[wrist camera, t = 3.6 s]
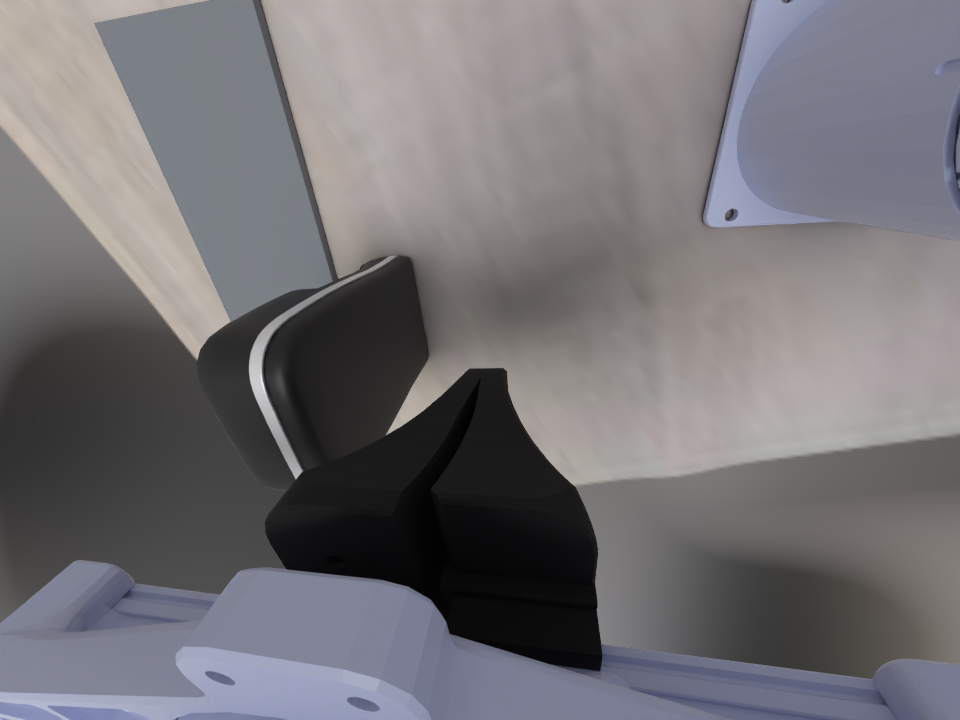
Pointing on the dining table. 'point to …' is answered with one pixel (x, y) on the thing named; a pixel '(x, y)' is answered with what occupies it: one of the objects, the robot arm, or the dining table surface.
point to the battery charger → (316, 370)
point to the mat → (225, 144)
